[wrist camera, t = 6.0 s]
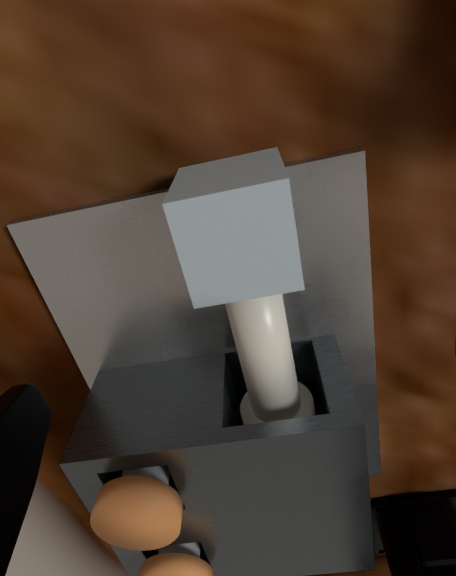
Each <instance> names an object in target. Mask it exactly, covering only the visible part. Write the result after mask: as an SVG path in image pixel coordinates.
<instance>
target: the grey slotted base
mask: <svg viewBox="0 0 456 576" xmlns="http://www.w3.org/2000/svg"><path fill="white" fill-rule="evenodd" d="M284 166H285V169H286V172H287V174H288V177H289V182H290V189H291V196H292V203H293V210H294V217H295V224H296V231H297V238H298V245H299V252H300V259H301V266H302V273H303V280H304V287H305V290H302V291H296V292H290V293H284V294H282V296H283V302H284V308H285V314H286V319H287V325H288V331H289V336H290V342H291V348H292V354H293V359H294V365H295V371H296V376H297V381H298V382H300V383H302V384H303V385H304V386H306V387H307V388H308V389H309V391H310V392H311V394H312V397H313V401H314V408H315V414H316V416H308V417H301V418H293V419H286V420H278V421H271V422H263V423H256V424H248V425H244V424H243V420H242V417H241V413H240V404H241V401H242V398H243V397H244V395H245V394H246V392H247V387H246V384H245V380H244V376H243V372H242V368H241V364H240V360H239V356H238V353H237V349H236V345H235V341H234V337H233V333H232V329H231V325H230V322H229V318H228V314H227V310H226V306H225V304H220V305H214V306H208V307H202V308H196V309H194V307H193V304H192V301H191V297H190V294H189V291H188V288H187V284H186V281H185V278H184V274H183V271H182V268H181V265H180V261H179V258H178V255H177V251H176V248H175V245H174V242H173V238H172V235H171V232H170V228H169V225H168V222H167V218H166V215H165V212H164V209H163V205H162V203H163V201H164V199H165V197H166V195H167V193H168V191H169V189H170V188H165V189H161V190H156V191H151V192H146V193H141V194H137V195H132V196H127V197H122V198H118V199H113V200H108V201H103V202H98V203H94V204H89V205H84V206H79V207H75V208H70V209H65V210H60V211H55V212H51V213H46V214H41V215H36V216H32V217H27V218H22V219H17V220H13V221H11V222H10V223H9V224H7V225H6V226H7V227H8V229H9V231H10V233H11V235H12V237H13V239H14V241H15V243H16V245H17V247H18V249H19V251H20V253H21V255H22V257H23V259H24V261H25V263H26V265H27V267H28V269H29V271H30V273H31V275H32V276H33V278H34V280H35V282H36V284H37V286H38V288H39V290H40V292H41V294H42V296H43V298H44V300H45V302H46V304H47V306H48V308H49V310H50V312H51V314H52V316H53V318H54V320H55V322H56V324H57V326H58V327H59V329H60V331H61V333H62V335H63V337H64V339H65V341H66V343H67V345H68V347H69V349H70V351H71V353H72V355H73V357H74V359H75V361H76V363H77V365H78V367H79V369H80V371H81V373H82V375H83V377H84V378H85V380H86V382H87V384H88V386H89V388H90V392H89V395H88V397H87V399H86V402H85V404H84V406H83V409H82V411H81V413H80V416H79V418H78V420H77V423H76V425H75V427H74V430H73V432H72V434H71V437H70V439H69V441H68V444H67V446H66V448H65V451H64V453H63V456H62V458H61V460H60V463H59V466H60V467H61V469H62V470H63V472H64V473H65V475H66V477H67V478H68V480H69V481H70V483H71V484H72V486H73V488H74V489H75V491H76V492H77V494H78V495H79V497H80V499H81V500H82V502H83V503H84V505H85V506H86V508H87V510H88V511H89V513H90V514H91V513H92V510H93V507H94V504H95V501H96V497H97V494H98V492H99V490H100V488H101V487H102V486H103V485H104V484H106V483H107V482H109V481H111V480H113V479H116V478H120V477H121V476H122V473H123V470H130V469H138V468H146V467H155V466H163V465H167V467H168V469H169V471H170V478H169V485H170V486H171V487H172V488H174V489H175V490H176V491H177V492H178V493H179V495H180V496H181V498H182V501H183V513H182V521H181V530H180V534H179V536H178V537H177V539H176V540H175V541H173V542H172V543H171V544H169V545H174V544H184V543H194V542H201V547H200V558H201V559H202V560H204V561H206V562H207V563H208V564H209V565H210V566H211V567H212V569H213V571H214V576H307V575H318V574H330V573H341V572H353V571H364V570H375V557H374V544H373V530H372V516H371V503H370V489H369V476H376V475H381V462H380V442H379V421H378V401H377V381H376V361H375V341H374V321H373V301H372V280H371V260H370V240H369V220H368V200H367V180H366V159H365V150H364V149H363V148H356V149H352V150H347V151H342V152H337V153H332V154H328V155H323V156H318V157H313V158H309V159H304V160H299V161H294V162H289V163H285V164H284ZM109 544H110V543H109ZM110 546H111V547H112V549H113V550H114V552H115V553H116V555H117V557H118V558H119V560H120V561H121V563H122V564H123V566H124V568H125V569H126V571H127V572H128V574H129V575H130V576H139V571H140V566H141V564H142V563H143V562H144V561H145V560H146V559H148V558H150V557H152V556H155V555H158V552H159V549H154V550H145V551H139V550H129V549H124V548H120V547H117V546H114V545H112V544H110Z"/></svg>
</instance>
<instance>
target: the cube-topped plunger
mask: <svg viewBox="0 0 456 576" xmlns="http://www.w3.org/2000/svg"><path fill="white" fill-rule="evenodd" d="M162 205H163V209H164V212H165V215H166V218H167V222H168V225H169V228H170V232H171V235H172V238H173V242H174V245H175V248H176V251H177V255H178V258H179V261H180V265H181V268H182V271H183V274H184V278H185V281H186V284H187V288H188V291H189V294H190V297H191V301H192V304H193V307H194V309H196V308H202V307H208V306H214V305H220V304H225V306H226V310H227V314H228V318H229V322H230V325H231V329H232V333H233V337H234V341H235V345H236V349H237V353H238V356H239V360H240V364H241V368H242V372H243V376H244V380H245V384H246V387H247V392H246V394H245V395H244V397H243V398H242V401H241V404H240V413H241V417H242V420H243V424H244V425H248V424H256V423H263V422H271V421H278V420H286V419H293V418H301V417H308V416H316V414H315V408H314V401H313V397H312V394H311V392H310V391H309V389H308V388H307V387H306V386H304V385H303V384H302V383H300V382H298V381H297V376H296V371H295V365H294V359H293V354H292V348H291V342H290V336H289V331H288V325H287V319H286V314H285V308H284V302H283V296H282V294H284V293H290V292H296V291H302V290H305V287H304V280H303V273H302V266H301V259H300V252H299V245H298V238H297V231H296V224H295V217H294V210H293V203H292V196H291V189H290V182H289V177H288V174H287V172H286V169H285V166H284V164H283V161H282V159H281V156H280V153H279V151H278V148H277V147H276V148H271V149H266V150H262V151H257V152H252V153H248V154H243V155H238V156H234V157H229V158H225V159H220V160H215V161H211V162H206V163H201V164H197V165H192V166H187V167H183V168H179V170H178V172H177V174H176V176H175V178H174V180H173V182H172V184H171V186H170V189H169V191H168V193H167V195H166V197H165V199H164V201H163V203H162Z"/></svg>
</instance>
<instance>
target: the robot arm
mask: <svg viewBox="0 0 456 576" xmlns="http://www.w3.org/2000/svg"><path fill="white" fill-rule="evenodd" d="M455 354H456V341H455ZM50 420H51V412H50V409H49V407H48V405H47V403H46V401H45V400H44V398H43V396H42V395H41V393H40V391H39V390H38V388H37V387H36V386H35V385H34V384H32V383H27V384H20V385H15V386H13V387H11V388H10V389H9V390H7V391H6V392H5V393H3V394H2V395H1V396H0V576H5V574H6V571H7V568H8V565H9V562H10V559H11V556H12V553H13V550H14V548H15V544H16V542H17V539H18V536H19V533H20V530H21V527H22V524H23V521H24V518H25V515H26V512H27V509H28V506H29V503H30V500H31V497H32V494H33V490H34V487H35V484H36V480H37V476H38V472H39V468H40V464H41V459H42V455H43V451H44V446H45V442H46V438H47V433H48V429H49V425H50ZM371 516H372V530H373V544H374V551H375V554H377V555H386V558H387V562H388V565H389V569H390V572H391V575H392V576H456V491H452V492H443V493H433V494H424V495H414V496H405V497H396V498H386V499H377V500H374V501H372V502H371Z"/></svg>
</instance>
